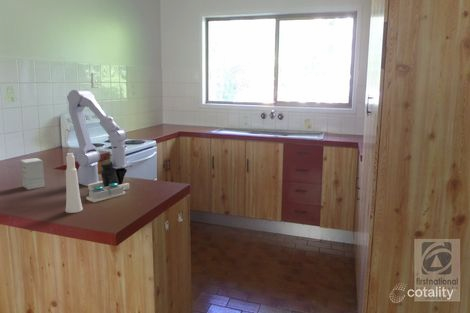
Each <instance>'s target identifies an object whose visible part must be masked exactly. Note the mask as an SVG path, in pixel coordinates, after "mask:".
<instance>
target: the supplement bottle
mask: <svg viewBox="0 0 470 313" xmlns="http://www.w3.org/2000/svg"><path fill="white" fill-rule="evenodd" d="M100 166H101V170H100V176H101V181H103V185H104V187H107V186H109V184H110V183H118V185H120V184H119V180H118V175H117V171H116V169H115V168H113V161H110V160H108V161H104V162H101V164H100ZM104 187H103V188H104Z"/></svg>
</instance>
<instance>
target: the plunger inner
mask: <svg viewBox="0 0 470 313" xmlns="http://www.w3.org/2000/svg"><path fill="white" fill-rule="evenodd" d="M117 185H118V183H110V184H109V186H110V188H111V189H114V188H117Z"/></svg>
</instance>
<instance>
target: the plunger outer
mask: <svg viewBox="0 0 470 313" xmlns="http://www.w3.org/2000/svg"><path fill="white" fill-rule="evenodd" d="M94 189H95V192H101V191H102V189H104V187H103V186H95V187H94Z"/></svg>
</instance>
